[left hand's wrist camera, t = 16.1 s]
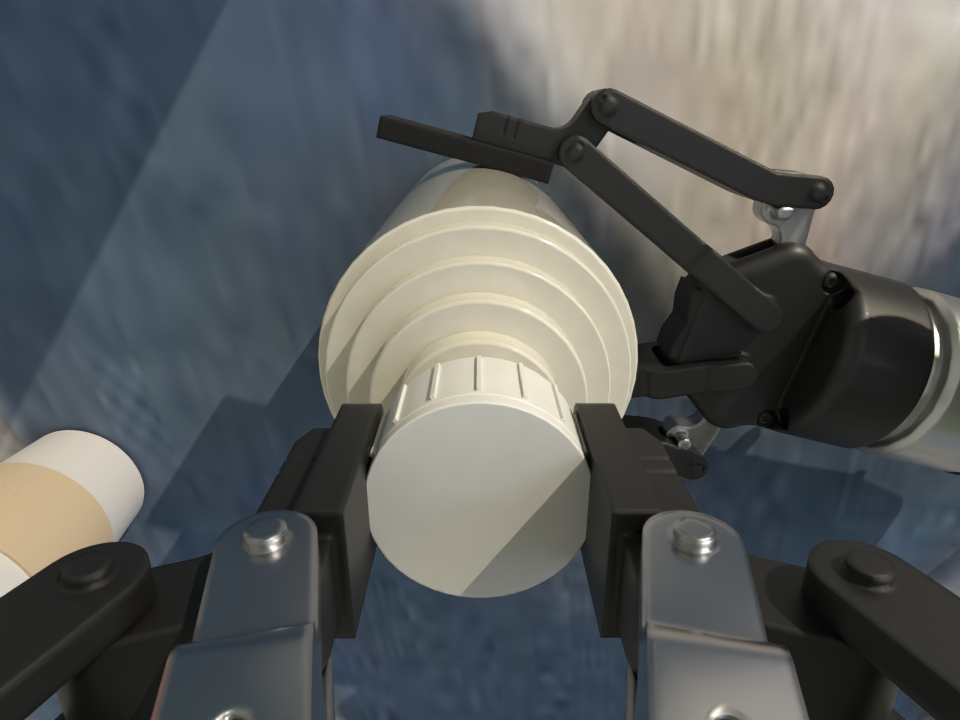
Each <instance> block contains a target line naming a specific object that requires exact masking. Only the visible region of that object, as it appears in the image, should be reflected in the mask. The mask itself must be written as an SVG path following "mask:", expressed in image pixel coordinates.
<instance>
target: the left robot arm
mask: <svg viewBox="0 0 960 720" xmlns="http://www.w3.org/2000/svg"><path fill="white" fill-rule="evenodd" d="M574 414H576V418H577V421H578V424H579V427H580V431H581V434H582V437H583V440H584V443H585V447H586V450H587V456H586V457H587V461H588V464H589V467H590V472H591V473H590V488H589V501H588V514H587V527H586V539H585V541H584V543H583V545H582V546H581V553H582V557H583V562H584V566H585V570H586V575H587V579H588V584H589V588H590V592H591V597H592V601H593V606H594V610H595V614H596V619H597V623H598V628H599V632H600V636H601V638H621V640H622V644H623V647H624V651H625V655H626V658H627V661H628V663H627V671H626V694H625V720H905V719H904V718H903V717H902V716H901V715H900V714H898V713H897V712H896V711H895V710H894V709H893V708H892V707H893V704H894V701H895V698H896V695H897V693H898V690H899V688H900V689H901V690H902V691H903V692H904V693H906V694H907V695H908V696H909V697H910V698H911V699H913V700H914V701H915V702H916V703H917V704H918V705H919V706H921V707H922V708H923V709H924V710H925V711H926V712H928V713H929V714H930V715H931V716H932V717H933V718H935V719H936V720H960V597H958V596H957V595H955V594H954V593H952V592H951V591H949V590H948V589H946V588H945V587H943V586H942V585H940V584H939V583H937V582H936V581H934V580H933V579H931V578H930V577H928V576H927V575H925V574H924V573H922V572H921V571H919V570H918V569H916V568H915V567H913V566H912V565H910V564H909V563H907V562H906V561H904V560H902V559H901V558H899V557H898V556H896V555H894V554H892V553H890V552H888V551H885V550H883V549H880V548H878V547H875V546H872V545H868V544H864V543H860V542H855V541H848V540H832V541H826V542H823V543H820V544H818V545H816V546H815V547H814V548H813V549H812V550H811V551H810V554H809V557H808V562H807V566H806V568H805V567H800V566H795V565H791V564H786V563H781V562H777V561H772V560H767V559H763V558H759V557H755V556H752V555H749V554H747V550H746V546H745V544H744V541H743V539H742V538H741V536H740V535H739V534H738V533H737V532H736V531H735V530H734V529H733V528H732V527H730V526H729V525H727V524H726V523H724V522H723V521H721V520H719V519H717V518H715V517H712V516H709V515H707V514H703V513H699V511H698V509H697V507H696V505H695V504H694V502H693V500H692V498H691V496H690V494H689V493H688V491H687V489H686V487H685V485H684V483H683V481H682V480H681V478H680V476H679V474H677V470H676V469H675V467H674V465H673V463H672V461H670V459H669V458H670V457H669V456H668V454H667V452H666V450H665V448H664V446H663V445H662V443H661V441H659V440H658V439H657V438H655V437H654V436H653V435H651V434H650V433H648V432H647V431H646V430H644V429H643V428H626V427H625V425H624V423H623V421H622V419H621V416H620V414H619V412H618V410H617V408H616V405H615V404H614V403H576V404H575V406H574V410H573V415H574ZM382 415H384V412H383V407H382V404H381V403H344V404H342V405H341V407H340V409H339V411H338V413H337V416H336V418H335V420H334V422H333V424H332V426H331V428H330V429H313V430H311V431H310V432H309V433H307V434H306V435H304V436H303V437H302V438H300V439H299V440H298V441H296V442H295V444H294V446H293V447H292V449H291V451H290V453H289V455H288V456H287V461H285V462H284V464H283V466H282V467H281V469H280V473H279V474H278V475H277V476H276V478H275V480H274V482H273V484H272V485H271V487H270V489H269V491H268V493H267V495H266V496H265V498H264V500H263V502H262V504H261V505H260V507H259V509H258V511H257V513H256V514H253V515H251V516H248V517H245V518H243V519H241V520H239V521H237V522H236V523H234V524H233V525H231V526H230V527H228V528H227V529H226V530H225V531H224V532H223V533H222V534H221V535H220V536H219V538H218V539H217V541H216V544H215V546H214V550H213V553H211V554H208V555H205V556H202V557H199V558H195V559H191V560H187V561H182V562H177V563H172V564H168V565H163V566H158V567H153V568H151V565H150V560H149V557H148V553H147V552H146V551H145V549H143V548H142V547H140V546H138V545H136V544H133V543H128V542H107V543H100V544H96V545H92V546H88V547H85V548H82V549H79V550H77V551H74V552H72V553H69V554H67V555H65V556H63V557H61V558H59V559H58V560H56V561H54V562H53V563H51V564H50V565H48V566H47V567H45V568H44V569H42V570H41V571H39V572H38V573H36V574H35V575H33V576H32V577H30V578H29V579H27V580H26V581H24V582H23V583H21V584H20V585H18V586H17V587H15V588H14V589H12V590H11V591H9V592H8V593H6V594H5V595H3V596H2V597H0V720H24V719H25V718H27V717H28V716H29V715H30V714H31V713H32V712H34V711H35V710H36V709H37V708H38V707H39V706H41V705H42V704H43V703H44V702H45V701H46V700H47V699H49V698H50V697H51V696H52V695H53V694H54V693H57V696H58V699H59V702H60V705H61V708H62V711H63V713H62V714H60V715H59V716H58V717H57V718H56V719H55V720H335V694H334V672H333V663H332V654H331V650H332V646H333V643H334V639H335V638H355V636H356V632H357V628H358V624H359V619H360V615H361V611H362V607H363V602H364V598H365V594H366V590H367V585H368V581H369V577H370V572H371V568H372V564H373V560H374V555H375V551H376V547H377V544H376V543H375V541H374V539H373V537H372V535H371V532H370V522H369V509H368V497H367V483H366V477H367V473H368V470H369V467H370V464H371V460H372V457H370V452H371V449H372V446H373V442H374V439H375V436H376V433H377V430H378V427H379V424H380V420H381V417H382Z"/></svg>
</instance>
